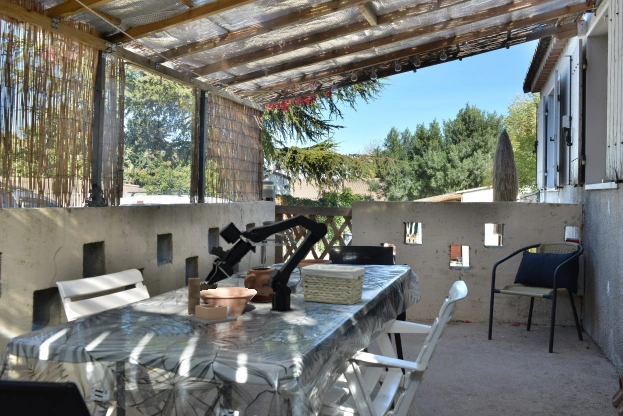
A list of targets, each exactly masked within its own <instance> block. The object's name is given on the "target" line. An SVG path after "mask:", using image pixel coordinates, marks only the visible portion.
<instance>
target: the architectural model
mask: <svg viewBox="0 0 623 416" xmlns="http://www.w3.org/2000/svg"><path fill="white" fill-rule="evenodd" d="M247 275H248V274H241V273H240V274H235V275H234V276H235V277H234V278H237V279H238V288H239V287H245V286H244V280H245V277H246V276H247Z"/></svg>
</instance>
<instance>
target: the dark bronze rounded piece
mask: <svg viewBox="0 0 623 416" xmlns="http://www.w3.org/2000/svg"><path fill="white" fill-rule="evenodd" d="M218 285H219V284H218V282H216V283H214V284H212V285H208V284H207V282H206V281H205V282H200V291H202V290H208V289H216V288H217V289H218Z"/></svg>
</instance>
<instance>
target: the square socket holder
mask: <svg viewBox="0 0 623 416" xmlns="http://www.w3.org/2000/svg"><path fill="white" fill-rule="evenodd" d="M212 304H213V303H205V304H200V305H197V306H195V315H188V316H187V315H186V316H185V320H187V319H188V321H190V320H191V321H190V322H193V323H197V322H198V323H197V324H200V323H201V324H200V325H203V324H204V326H206V324H208V325H213V324H220V323H221V324H222V323H227V322H228V323H229V322H235V321H238V318H237V317H233V316H230V315H228V306H227V305H223V304H219V306H218V307H214V308H213V306H212Z"/></svg>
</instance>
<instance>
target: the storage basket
mask: <svg viewBox="0 0 623 416" xmlns="http://www.w3.org/2000/svg"><path fill="white" fill-rule="evenodd" d="M300 273H301V277H302V278H301V279H302V292H303V300H304V301H305V302H314V303H316V302H317V303H326V304H327V303H328V304H331V303H333V305H336V304H339V305H343V304H347V305H349V306H352V305H355V304H357V303H359V302H360V301H362V297H363V293H362V292H363V288H364V276H365V274H366V269H365V267H363V266H362V267H360V266H349V265H338V264H337V265H335V264H323V263H322V264H320V263H319V264H318V263H315V264H310V265H305V266H303V267H301V272H300ZM354 303H355V304H354ZM347 305H346V306H347Z"/></svg>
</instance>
